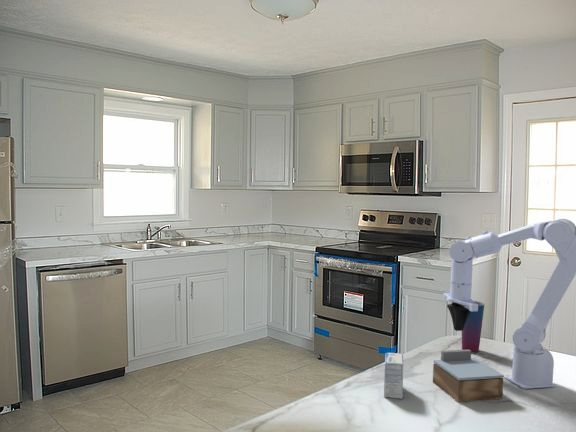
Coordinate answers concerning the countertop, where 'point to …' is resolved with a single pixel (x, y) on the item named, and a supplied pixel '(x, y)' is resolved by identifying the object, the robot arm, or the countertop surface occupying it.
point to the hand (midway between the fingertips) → (458, 330)
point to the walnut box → (468, 386)
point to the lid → (465, 366)
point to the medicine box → (393, 375)
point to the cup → (473, 329)
